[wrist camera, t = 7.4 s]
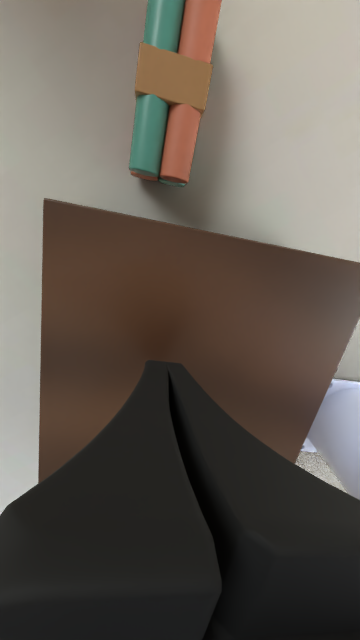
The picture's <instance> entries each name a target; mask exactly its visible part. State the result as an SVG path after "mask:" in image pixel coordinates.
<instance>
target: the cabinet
mask: <svg viewBox="0 0 360 640" xmlns="http://www.w3.org/2000/svg"><path fill="white" fill-rule="evenodd" d="M359 319H360V263H359V262H354V261H349V260H344V259H339V258H335V257H330V256H325V255H320V254H316V253H311V252H306V251H301V250H296V249H292V248H287V247H282V246H277V245H272V244H267V243H263V242H258V241H253V240H248V239H243V238H238V237H233V236H229V235H224V234H219V233H214V232H209V231H204V230H199V229H195V228H190V227H185V226H180V225H175V224H170V223H166V222H161V221H156V220H151V219H146V218H141V217H136V216H132V215H127V214H122V213H117V212H112V211H107V210H102V209H98V208H93V207H88V206H83V205H77V204H72V203H67V202H62V201H57V200H52V199H47V198H44V204H43V259H42V314H41V370H40V425H39V480H38V484H39V483H40V482H41V481H43V480H44V479H46V478H47V477H48V476H50V475H51V474H52V473H54V472H55V471H56V470H58V469H59V468H60V467H61V466H63V465H64V464H65V463H66V462H67V461H68V460H70V459H71V458H72V457H73V456H74V455H76V454H77V453H78V452H79V451H80V450H81V449H83V448H84V447H85V446H86V445H87V444H88V443H89V442H90V441H91V440H92V439H94V438H95V437H96V436H97V434H98V433H99V432H100V431H101V430H102V429H103V428H104V427H105V426H106V425H107V424H108V423H109V422H110V421H111V420H112V418H113V417H114V416H115V415H116V414H117V413H118V411H119V410H120V409H121V408H122V406H123V405H124V404H125V402H126V401H127V399H128V398H129V396H130V395H131V393H132V392H133V390H134V389H135V387H136V385H137V383H138V382H139V380H140V378H141V376H142V373H143V371H144V367H145V362H146V361H148V360H155V361H164V362H174V363H181V364H182V365H183V366H184V367H185V368H186V370H187V371H188V372H189V373H190V374H191V376H192V377H193V378H194V379H195V380H196V382H197V383H198V384H199V385H200V386H201V387H202V388H203V390H204V391H205V392H206V393H207V394H208V395H209V396H210V397H211V398H212V399H213V400H214V401H215V402H216V403H217V404H218V405H219V406H220V407H221V408H222V409H223V410H224V411H225V412H226V413H227V414H228V415H229V416H230V417H231V418H232V419H234V420H235V421H236V422H237V423H238V424H240V425H241V426H242V427H243V428H244V429H246V430H247V431H248V432H249V433H250V434H252V435H253V436H254V437H256V438H257V439H258V440H260V441H261V442H263V443H264V444H265V445H267V446H268V447H270V448H271V449H273V450H274V451H275V452H277V453H278V454H280V455H281V456H283V457H284V458H286V459H287V460H289V461H291V462H292V463H294V464H295V462H296V459H297V457H298V455H299V453H300V451H301V448H302V446H303V444H304V442H305V439H306V437H307V435H308V433H309V431H310V428H311V426H312V424H313V422H314V419H315V417H316V415H317V413H318V411H319V408H320V406H321V404H322V402H323V399H324V397H325V395H326V393H327V390H328V388H329V386H330V384H331V382H332V379H333V377H334V375H335V373H336V370H337V368H338V366H339V364H340V362H341V359H342V357H343V355H344V353H345V350H346V348H347V346H348V344H349V342H350V339H351V337H352V335H353V333H354V330H355V328H356V326H357V324H358V322H359Z"/></svg>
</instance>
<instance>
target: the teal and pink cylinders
mask: <svg viewBox="0 0 360 640" xmlns="http://www.w3.org/2000/svg"><path fill="white" fill-rule="evenodd" d="M221 1H222V0H148V4H147V13H146V22H145V31H144V40H143V42H140V46H139V55H138V64H137V73H136V82H135V97H136V110H135V119H134V128H133V137H132V145H131V154H130V163H129V169H130V170H131V174H132V175H133V176H135V177H138V178H142V179H146V180H151V181H157V180H158V181H159V182H161V183H164V184H167V185H172V186H177V187H184V186H185V183H188V181H189V176H190V170H191V165H192V160H193V154H194V149H195V143H196V138H197V132H198V127H199V121H200V118H201V116H202V114H203V112H204V111H205V107H206V101H207V96H208V91H209V85H210V80H211V75H212V69H213V65H212V64H210V61H211V56H212V50H213V45H214V40H215V34H216V29H217V23H218V18H219V12H220V7H221Z"/></svg>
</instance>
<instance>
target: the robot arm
mask: <svg viewBox="0 0 360 640" xmlns="http://www.w3.org/2000/svg"><path fill="white" fill-rule="evenodd" d="M301 451H306V452H318V453H319V454H320V455H321V457H322V458H323V459H324V461H325V462H326V464H327V465H328V466H329V468H330V469H331V471H332V472H333V473H334V475H335V476H336V477H337V479H338V480H339V482H340V483H341V484H342V486H343V487H344V488H345V490H346V491H347V493H348V494H347V493H345V492H343V491H341V490H339V489H338V488H336V487H334V486H332V485H330V484H328V483H326V482H324V481H322V480H321V479H319V478H317V477H315V476H314V475H312V474H310V473H309V472H307V471H305V470H304V469H302V468H300V467H299V466H297V465H295V464H294V463H292V462H291V461H289V460H287V459H286V458H284V457H283V456H281V455H280V454H278V453H277V452H275V451H274V450H273V449H271V448H270V447H268V446H267V445H265V444H264V443H263V442H261V441H260V440H258V439H257V438H256V437H254V436H253V435H252V434H250V433H249V432H248V431H247V430H246V429H244V428H243V427H242V426H241V425H240V424H238V423H237V422H236V421H235V420H234V419H232V418H231V417H230V416H229V415H228V414H227V413H226V412H225V411H224V410H223V409H222V408H221V407H220V406H219V405H218V404H217V403H216V402H215V401H214V400H213V399H212V398H211V397H210V396H209V395H208V394H207V393H206V392H205V391H204V390H203V388H202V387H201V386H200V385H199V384H198V383H197V382H196V380H195V379H194V378H193V377H192V376H191V374H190V373H189V372H188V371H187V370H186V368H185V367H184V366H183V365H182V364H181V363H174V362H164V361H155V360H148V361H146V362H145V367H144V371H143V373H142V376H141V378H140V380H139V382H138V383H137V385H136V387H135V389H134V390H133V392H132V393H131V395H130V396H129V398H128V399H127V401H126V402H125V404H124V405H123V406H122V408H121V409H120V410H119V411H118V413H117V414H116V415H115V416H114V417H113V418H112V420H111V421H110V422H109V423H108V424H107V425H106V426H105V427H104V428H103V429H102V430H101V431H100V432H99V433H98V434H97V436H96V437H95V438H94V439H92V440H91V441H90V442H89V443H88V444H87V445H86V446H85V447H84V448H83V449H81V450H80V451H79V452H78V453H77V454H76V455H74V456H73V457H72V458H71V459H70V460H68V461H67V462H66V463H65V464H64V465H63V466H61V467H60V468H59V469H58V470H56V471H55V472H54V473H52V474H51V475H50V476H48V477H47V478H46V479H44V480H43V481H41V482H40V483H39V484H37V485H36V486H34V487H33V488H32V489H30V490H29V491H27V492H26V493H25V494H23V495H22V496H20V497H19V498H18V499H16V500H15V501H13V502H12V503H10V504H9V505H8V506H7V507H6V508H5V510H4V511H3V512H2V514H1V515H0V640H360V382H356V381H348V380H339V379H332V382H331V384H330V386H329V388H328V390H327V393H326V395H325V397H324V399H323V402H322V404H321V406H320V408H319V411H318V413H317V415H316V417H315V419H314V422H313V424H312V426H311V428H310V431H309V433H308V435H307V437H306V439H305V442H304V444H303V446H302V448H301Z"/></svg>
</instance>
